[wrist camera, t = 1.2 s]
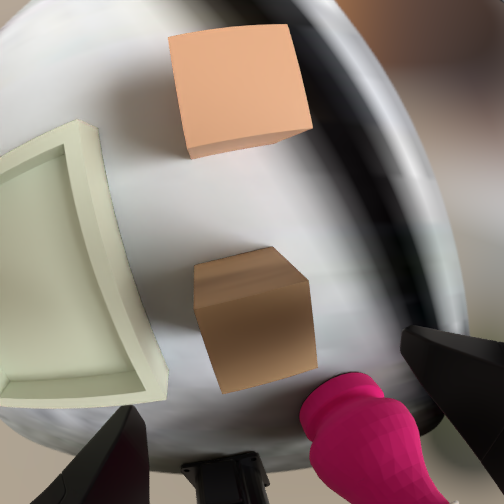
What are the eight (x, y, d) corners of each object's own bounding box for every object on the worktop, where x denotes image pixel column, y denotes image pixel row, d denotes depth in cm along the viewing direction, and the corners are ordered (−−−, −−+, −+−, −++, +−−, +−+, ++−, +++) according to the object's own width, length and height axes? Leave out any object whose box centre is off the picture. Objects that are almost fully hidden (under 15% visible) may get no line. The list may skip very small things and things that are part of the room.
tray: (169, 370, 15) (166, 399, 13) (12, 385, 13) (-2, 406, 11) (98, 128, 11) (77, 118, 9) (-56, 210, 10) (-80, 216, 7)
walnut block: (284, 314, 16) (317, 367, 11) (213, 332, 15) (222, 394, 10) (272, 246, 14) (308, 280, 10) (194, 265, 14) (193, 309, 9)
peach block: (273, 143, 13) (312, 127, 8) (191, 159, 13) (187, 148, 8) (257, 70, 12) (287, 24, 7) (177, 82, 12) (167, 37, 7)
